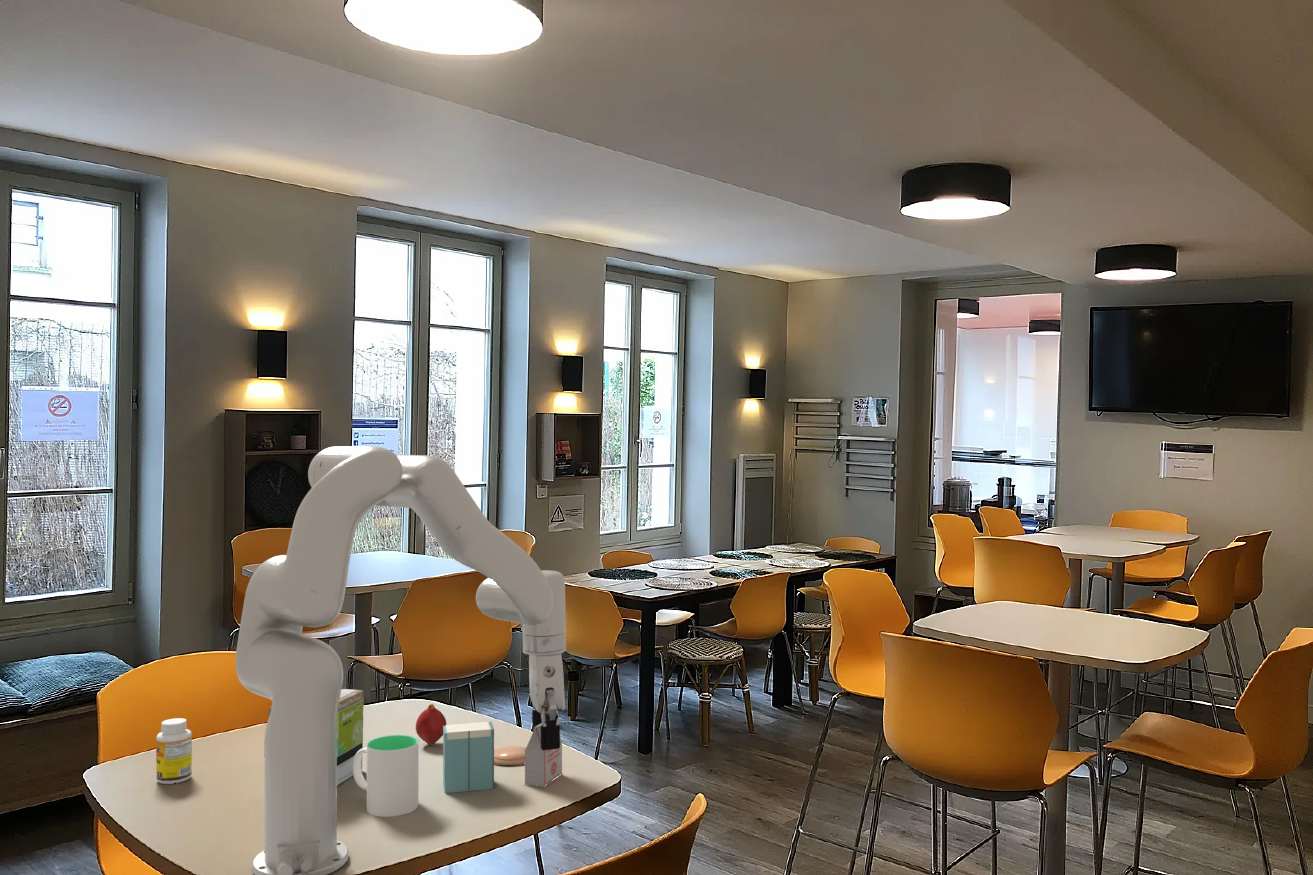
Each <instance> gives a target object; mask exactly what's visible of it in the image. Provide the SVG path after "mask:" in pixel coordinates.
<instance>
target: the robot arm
mask: <svg viewBox="0 0 1313 875" xmlns="http://www.w3.org/2000/svg"><path fill="white" fill-rule="evenodd" d="M307 474H308V475H307V477H308V483H309V485H310V487H311V488H310V490H308V492H307V493H306V494H305V496H304V497H303V499H302V501H301V502H300V505H299V506H298V508H297V511H296V514H295V517H294V520H293V524H292V528H291V533H290V537H289V541H288V547H287V552H286V554H280V555H275V556H273V557H271V558H268V559H266V560H265V561H264V562H262V563H261V564H260V565H259V566H258V567H257V568H256V569H255V571H254V572H253V574H252V575H251V577H250V579H249V582H248V584H247V587H246V591H245V595H244V600H243V607H242V612H241V618H240V625H239V631H238V639H237V645H236V651H235V652H236V653H235V670H236V676H237V677H238V678H237V679H238V680H239V682H240V683H241V685H242V686H243V687H244V688H245V689H247V691H249V692H251V693H253V694H254V695H257V696H260V697H263V698H265V699H269V700H270V701H271V702H272V703H271V707H272V708H271V712H270V716H269V719H268V720H267V722H266V726H265V727H266V728H265V732H264V741H263V750H264V751H263V752H264V753H263V757H264V850H262V851H260V852H259V853H258V854H257V855H256V856H255V857H254V859H253V861H252V872H253V874H254V875H330V874H331V873H332V874H333V873H334V872H335V871H337V870H339V869H340V868H342V867H343V866H344V865H345V864H346V863H347V861H348V860H349V848H348V846H347V845H346V844H345V843H343V841H340V840H338V831H337V830H338V828H337V827H338V823H337V822H338V818H337V817H338V814H337V813H338V809H337V808H338V807H337V806H338V805H337V804H338V801H337V800H338V798H337V797H338V785H337V714H338V705H339V699H340V694H341V689H343V682H344V666H343V663H342V660H341V657H340V656H339V654H338V653H337V651H336V650H335V649H334V648H333V647H332V646H331V645H329V644H328V643H326V642H324V641H323V640H321V639H318V638H315V637H311V636H308V635H303V634H302V633H303V627H307V628H320V627H325V626H327V625H329V624H331V623H333V622H334V621H335V620H336V619H337V617H338V616H339V614H340V613H341V611H342V608H343V605H344V600H345V594H346V588H347V581H348V574H349V566H350V560H351V554H352V548H353V544H354V538H355V534H356V532H357V528H358V526H359V524H360V523H361V521H362V520H363V518H364V517H365V516H366V514H368V513H369V511H370V510H371V509H373V508H374V507H375V506H377V507H394V508H406V509H411V510H413V511H414V512H415V514H416V515H417V516H418V518H419V519H420V521H421V522H422V524H423V525H424V526H425V527H426V529H427V530H428V531H429V533H430V534H431V535H432V537H433V538H434V540H435V541H436V543H437V544H438V545H439V547H440V548H441V550H442V551H443V552H444V553H445V555H447V556H449V557H450V558H451V559H453V560H455V561H457V562H458V563H459V564H461V565H463V566H465V567H467V568H469V569H472V570H474V571H477V572H478V573H480V574H482V575H484V576H486V577H487V578H485V579H484V580H483V581H482V582H481V583H480V584H479V586H478V588H477V590H476V594H475V603H476V606H477V608H478V609H479V610H480V612H481V613H482V614H483V615H485V616H487V617H489V618H491V619H494V620H500V621H505V622H511V623H516V624H521V625H522V627H521V628H522V632H521V633H522V635H521V636H522V637H521V638H522V653H523V654H525V655H528V673H529V674H528V678H529V679H528V680H529V696H530V701H531V703H532V710H531V719H532V722H531V723H532V727H531V728H532V729H531V730H532V731H533V730H534V727H536V726H537V725H539V724H541V723H542V726H540V727H541V749H542V750H552V749H559V748H560V738H561V728H560V727H561V725H560V719H559V718H560V717H559V711H558V710H560V711H561V712H563V711H565V709H566V699H565V681H564V680H565V678H564V677H565V676H564V665H563V657H562V653H564V652H566V651H567V639H566V638H567V637H566V636H567V635H566V634H567V629H566V628H567V627H566V622H567V621H566V620H567V619H566V581H565V576H564V575H563V573H561V572H560V571H557V570H551V569H550V570H548V569H547V570H546V569H545V570H544V569H543V570H541V568H540V567H539V565H538V564H537V563H536V561H535V560H534V559H533V557H531V556H530V554H528V553H527V552H526V550H524V549H523V548H522V547H521V546H520V545H519V544H517V543H516V542H514V540H512V539H511V538H510V537H508V535H506V534H505V533H504V532H502V531H501V530H500V529H499V528H497V527H496V526H495V525H493V523H490V521H489V520H488V519H487V517H486V516H485V515H484V513H483V512H482V510H481V509H480V507H479V506H478V505H477V503H476V501H475V500H474V498H473V497H472V495H471V494H470V493H469V491H468V490H467V488H466V486H465V485H464V483H462V481H461V479H460V478H459V477H458V475H457V473H456V472H455V471H454V469H453V468H452V466H451V465H450V464H449V463H448V462H447V461H446V460H444V459H443V458H441V457H439V456H434V455H428V454H427V455H425V454H423V455H422V454H421V455H419V454H417V455H416V454H396V453H395V452H393V451H392V450H390V449H387V448H384V447H380V446H374V445H355V446H350V445H349V446H347V445H345V446H344V445H342V446H341V445H339V446H337V445H336V446H335V445H334V446H329V447H327V448H324V449H323V450H320V451H319V452H318V453H317V454H316V455H315V456H314V457H313V458H312V460H311V462H310V464H309V467H308V471H307Z"/></svg>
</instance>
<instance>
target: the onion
mask: <svg viewBox="0 0 1313 875" xmlns="http://www.w3.org/2000/svg"><path fill="white" fill-rule="evenodd" d="M446 725H447V720H446V717H445V716H444V714H443V713H442V711H440V710H439V709H437V708H436V707H435V706H434V704H433V703H430V704H428V707H427V708H426V709H424V710H423V711H422V712H421V713H420V714H419V715H418V716H417V719H416V722H415V732H416V734H417V736H418V737H419V738H420V739H421V740H422V741H424V742H425V743H426V744H427V745H428V746H433V745H435V744H436V743H438V741H439V740H440V739H441V738H442V737H443V726H446Z"/></svg>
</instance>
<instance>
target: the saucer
mask: <svg viewBox="0 0 1313 875" xmlns="http://www.w3.org/2000/svg"><path fill="white" fill-rule="evenodd" d="M526 747H527V746H526ZM526 747H525V746H504V747H498V748H494V766H499V765H516V766H521V765H520V764H523V765H525V764H524V763H525V749H526Z"/></svg>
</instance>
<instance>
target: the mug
mask: <svg viewBox="0 0 1313 875" xmlns="http://www.w3.org/2000/svg"><path fill="white" fill-rule="evenodd" d="M363 754H366V779H365V778H364V776H363V772H362V770H361V758H362V755H363ZM353 777H354V778H353V779H354V780H355V781H354V782H356V784H357V785H358V787H360V788H361V789H362V790H364V791H366V811H367V813H368V814H370V815H372V816H376V817H386V818H387V817H389V818H390V817H397V816H403V815H406V814H409V813H412V812H414V811H415V810H417V809H418V807H419V738H417V737H416V736H412V735H407V734H405V735H404V734H402V735H401V734H394V735H393V734H392V735H384V736H379V737H377V738H372V739H371V740H368V742H367V743H366V746H365V747H364V746H363V748H362V749H360V750H359V751H358V752H357V753H356V754H355V756H354V760H353Z"/></svg>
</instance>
